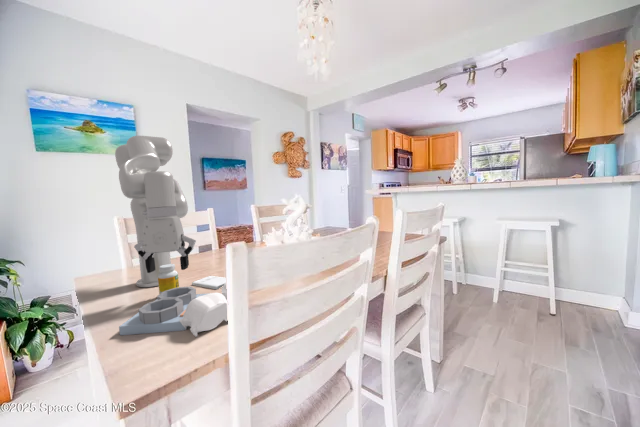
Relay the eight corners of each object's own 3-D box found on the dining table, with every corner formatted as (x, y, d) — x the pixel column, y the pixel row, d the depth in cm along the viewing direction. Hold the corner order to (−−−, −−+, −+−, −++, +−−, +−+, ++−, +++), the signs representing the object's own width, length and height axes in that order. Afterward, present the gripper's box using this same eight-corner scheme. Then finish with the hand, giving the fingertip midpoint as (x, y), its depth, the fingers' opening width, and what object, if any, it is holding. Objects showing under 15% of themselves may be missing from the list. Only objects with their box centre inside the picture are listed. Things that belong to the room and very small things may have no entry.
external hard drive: (217, 291, 85) (192, 286, 91) (236, 283, 92) (211, 279, 98) (217, 286, 85) (191, 281, 91) (236, 278, 92) (211, 274, 98)
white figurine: (205, 351, 57) (257, 304, 67) (189, 324, 54) (246, 278, 64) (187, 336, 63) (237, 294, 73) (171, 310, 59) (226, 269, 69)
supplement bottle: (160, 295, 82) (157, 265, 81) (179, 291, 85) (177, 262, 84) (159, 301, 77) (156, 269, 77) (180, 297, 80) (177, 265, 79)
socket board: (160, 303, 76) (159, 288, 75) (210, 300, 77) (209, 284, 76) (119, 335, 59) (117, 315, 58) (185, 330, 60) (183, 310, 59)
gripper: (123, 216, 75) (130, 276, 75) (186, 211, 76) (192, 271, 77) (139, 215, 82) (145, 269, 83) (197, 211, 83) (202, 264, 84)
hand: (168, 270), depth 80 cm, fingers open, 9 cm apart
